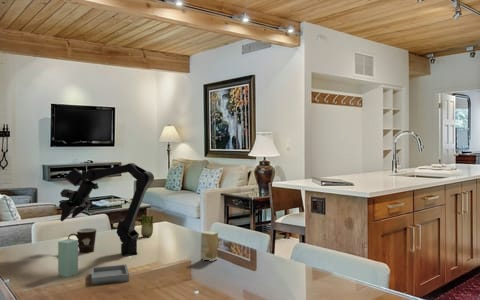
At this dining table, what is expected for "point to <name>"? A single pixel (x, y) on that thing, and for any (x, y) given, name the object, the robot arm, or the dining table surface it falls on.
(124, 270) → the box
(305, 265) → the dining table surface
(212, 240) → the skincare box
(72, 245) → the teal block
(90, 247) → the coffee mug
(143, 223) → the fennel bulb
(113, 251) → the dining table surface
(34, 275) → the dining table surface
